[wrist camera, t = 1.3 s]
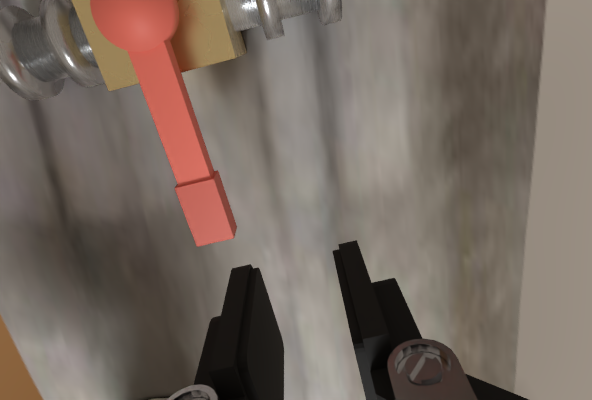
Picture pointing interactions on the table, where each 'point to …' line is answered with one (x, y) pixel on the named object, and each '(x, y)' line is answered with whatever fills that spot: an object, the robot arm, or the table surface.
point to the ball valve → (115, 61)
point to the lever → (169, 108)
